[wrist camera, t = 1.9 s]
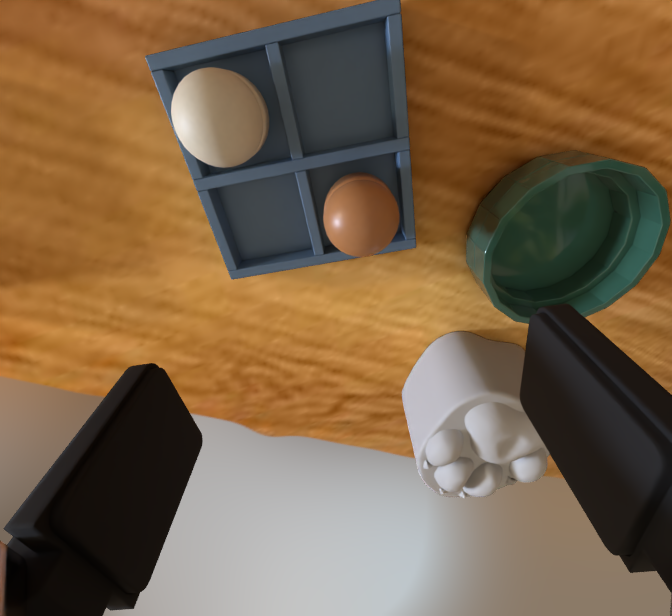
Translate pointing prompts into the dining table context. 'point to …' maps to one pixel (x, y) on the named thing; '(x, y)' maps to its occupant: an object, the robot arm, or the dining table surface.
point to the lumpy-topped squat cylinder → (471, 417)
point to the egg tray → (304, 132)
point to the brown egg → (360, 214)
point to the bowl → (567, 234)
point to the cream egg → (219, 116)
